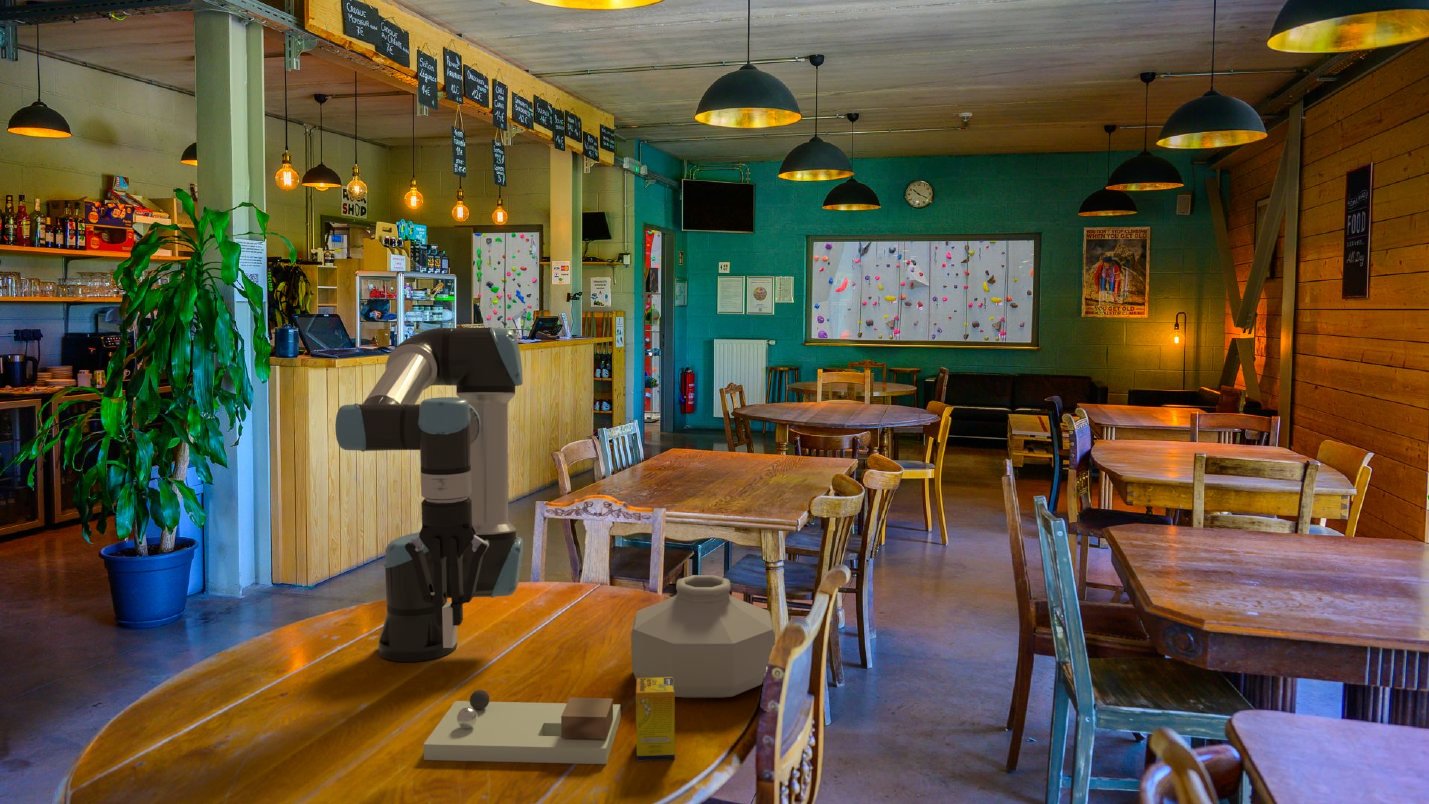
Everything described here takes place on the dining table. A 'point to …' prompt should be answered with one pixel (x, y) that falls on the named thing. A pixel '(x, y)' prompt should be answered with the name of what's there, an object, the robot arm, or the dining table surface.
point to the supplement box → (655, 718)
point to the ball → (467, 718)
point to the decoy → (479, 699)
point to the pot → (703, 640)
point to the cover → (587, 718)
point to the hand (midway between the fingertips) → (450, 644)
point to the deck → (515, 736)
